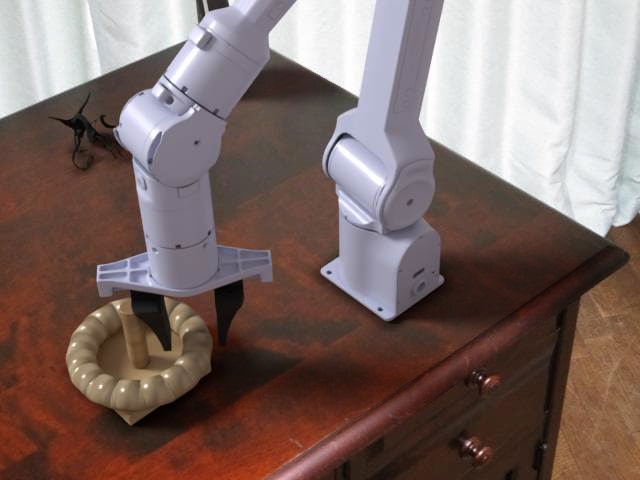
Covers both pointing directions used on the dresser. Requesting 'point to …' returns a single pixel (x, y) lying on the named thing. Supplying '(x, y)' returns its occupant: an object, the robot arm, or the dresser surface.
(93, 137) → the creature
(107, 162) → the dresser surface
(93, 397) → the segmented beige ring
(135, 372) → the stand
